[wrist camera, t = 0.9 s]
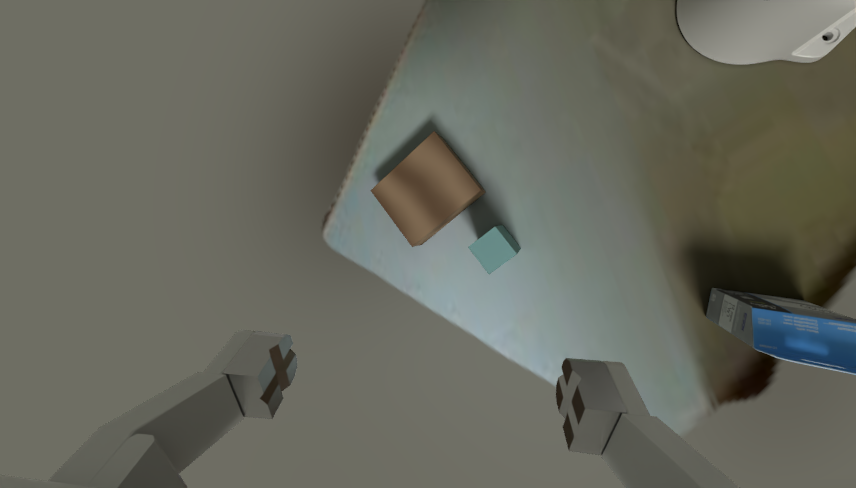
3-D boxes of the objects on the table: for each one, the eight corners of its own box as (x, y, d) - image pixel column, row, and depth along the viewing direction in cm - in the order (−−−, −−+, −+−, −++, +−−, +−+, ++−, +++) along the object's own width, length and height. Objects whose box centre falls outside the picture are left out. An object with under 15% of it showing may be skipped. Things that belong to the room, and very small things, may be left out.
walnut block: (442, 137, 49) (434, 131, 45) (485, 192, 47) (481, 189, 44) (383, 192, 52) (370, 190, 48) (421, 244, 51) (412, 246, 47)
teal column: (502, 225, 47) (495, 226, 39) (520, 248, 46) (516, 254, 39) (479, 242, 48) (468, 247, 41) (497, 265, 48) (488, 274, 40)
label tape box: (806, 300, 37) (927, 337, 26) (798, 336, 38) (913, 388, 26) (710, 286, 40) (780, 313, 28) (703, 320, 40) (769, 360, 29)
